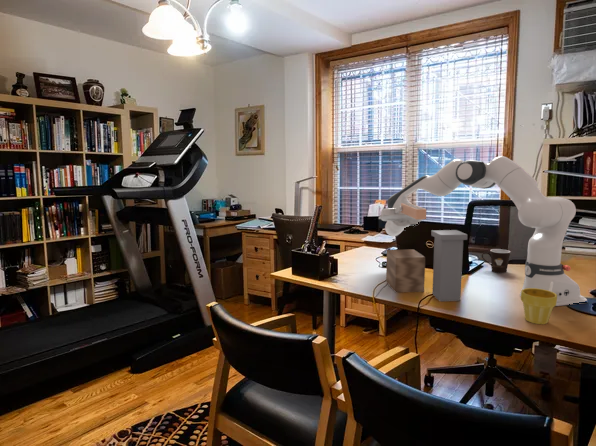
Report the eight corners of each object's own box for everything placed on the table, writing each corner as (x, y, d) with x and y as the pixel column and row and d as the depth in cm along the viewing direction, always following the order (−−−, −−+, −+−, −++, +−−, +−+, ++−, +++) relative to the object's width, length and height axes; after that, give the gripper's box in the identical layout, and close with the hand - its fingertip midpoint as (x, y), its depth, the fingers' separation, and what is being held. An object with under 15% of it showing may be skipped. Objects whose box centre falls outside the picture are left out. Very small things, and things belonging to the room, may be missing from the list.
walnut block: (412, 281, 186) (413, 249, 184) (424, 291, 171) (425, 257, 169) (386, 281, 186) (386, 249, 184) (395, 292, 171) (396, 257, 169)
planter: (409, 211, 188) (409, 203, 188) (426, 219, 167) (426, 209, 166) (400, 212, 188) (401, 203, 187) (416, 219, 166) (416, 209, 166)
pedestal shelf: (453, 293, 169) (456, 230, 165) (464, 301, 159) (467, 234, 155) (429, 293, 168) (431, 230, 165) (438, 302, 159) (440, 235, 155)
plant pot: (560, 327, 134) (562, 298, 132) (525, 325, 136) (527, 296, 134) (547, 316, 144) (550, 288, 142) (515, 314, 146) (517, 287, 144)
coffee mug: (512, 271, 199) (514, 251, 198) (502, 274, 194) (504, 253, 193) (489, 266, 209) (490, 247, 207) (479, 269, 204) (480, 249, 202)
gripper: (377, 213, 198) (383, 201, 185) (419, 212, 199) (429, 200, 186) (378, 225, 196) (384, 214, 183) (421, 224, 197) (431, 213, 184)
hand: (407, 207), depth 185 cm, fingers closed on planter, 4 cm apart
